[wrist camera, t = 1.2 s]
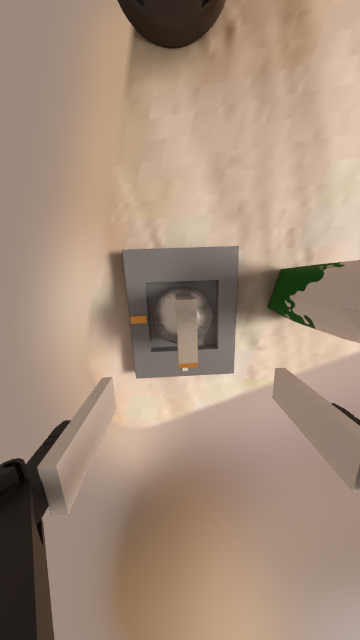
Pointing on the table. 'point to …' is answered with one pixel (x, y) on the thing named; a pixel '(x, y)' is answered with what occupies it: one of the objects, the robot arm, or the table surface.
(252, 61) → the table surface
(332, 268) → the milk carton
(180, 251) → the panel
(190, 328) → the dial
